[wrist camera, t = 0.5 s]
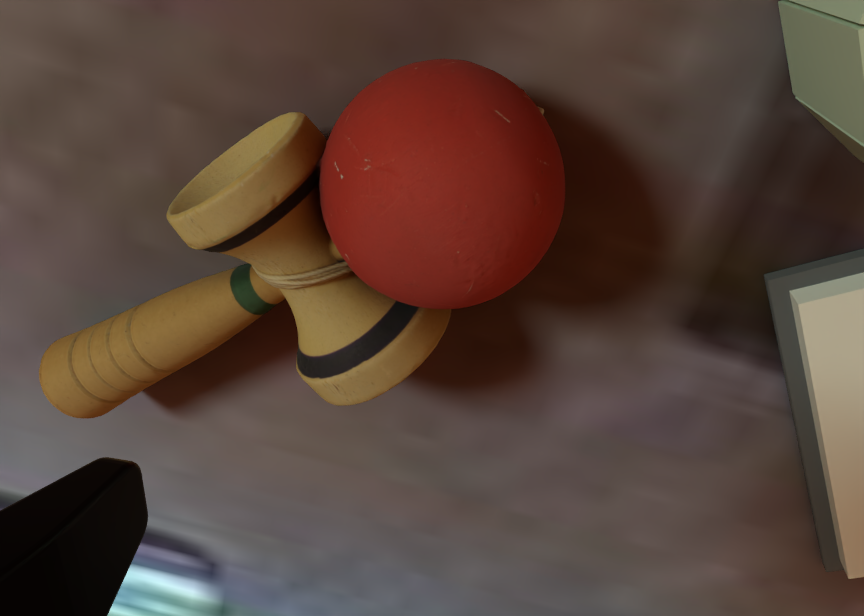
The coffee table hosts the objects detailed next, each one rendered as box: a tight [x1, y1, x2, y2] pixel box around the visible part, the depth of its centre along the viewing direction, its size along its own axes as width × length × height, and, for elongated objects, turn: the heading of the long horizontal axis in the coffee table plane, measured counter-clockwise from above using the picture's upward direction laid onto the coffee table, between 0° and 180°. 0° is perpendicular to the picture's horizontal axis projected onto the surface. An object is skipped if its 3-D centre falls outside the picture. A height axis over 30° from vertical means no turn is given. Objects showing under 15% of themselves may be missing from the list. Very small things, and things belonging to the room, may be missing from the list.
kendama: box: [39, 59, 565, 418], centre depth 20 cm, size 8×6×18 cm
